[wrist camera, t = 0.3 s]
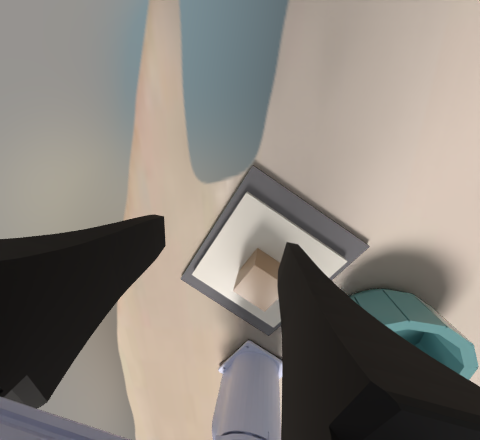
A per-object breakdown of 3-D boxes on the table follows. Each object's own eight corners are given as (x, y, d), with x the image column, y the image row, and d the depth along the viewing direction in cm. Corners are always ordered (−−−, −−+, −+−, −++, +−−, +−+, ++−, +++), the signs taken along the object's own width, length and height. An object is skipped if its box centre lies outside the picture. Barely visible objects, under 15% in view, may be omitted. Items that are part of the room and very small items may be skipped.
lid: (273, 322, 24) (274, 355, 20) (194, 271, 23) (178, 294, 19) (344, 257, 19) (364, 283, 15) (247, 191, 18) (240, 199, 14)
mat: (268, 332, 25) (268, 335, 25) (182, 276, 24) (180, 279, 24) (367, 244, 19) (369, 246, 18) (253, 165, 18) (252, 165, 17)
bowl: (375, 364, 24) (400, 413, 19) (310, 321, 23) (320, 361, 19) (452, 319, 20) (508, 368, 15) (377, 267, 19) (410, 301, 15)
